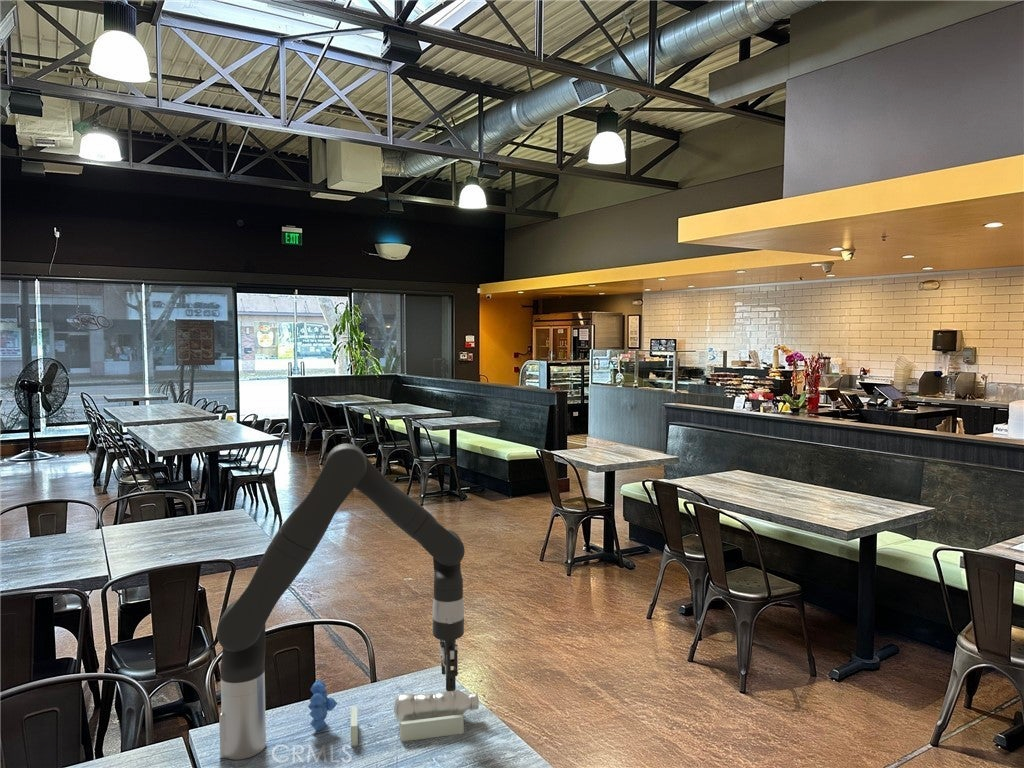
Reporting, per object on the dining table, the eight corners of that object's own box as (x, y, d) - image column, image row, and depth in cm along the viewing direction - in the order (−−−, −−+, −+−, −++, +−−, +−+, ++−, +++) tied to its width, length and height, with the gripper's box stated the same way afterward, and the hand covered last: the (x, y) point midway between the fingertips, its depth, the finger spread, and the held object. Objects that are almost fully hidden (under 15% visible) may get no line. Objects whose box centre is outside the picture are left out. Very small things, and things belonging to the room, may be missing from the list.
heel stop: (350, 745, 155) (350, 726, 155) (351, 724, 163) (350, 706, 163) (357, 744, 155) (357, 725, 155) (357, 724, 164) (357, 705, 164)
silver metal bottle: (394, 689, 162) (477, 681, 166) (393, 703, 166) (474, 695, 170) (394, 716, 157) (480, 707, 161) (394, 729, 162) (477, 721, 165)
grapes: (336, 741, 156) (335, 690, 156) (305, 744, 155) (304, 693, 155) (339, 715, 168) (338, 667, 167) (310, 718, 167) (309, 670, 166)
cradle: (401, 741, 156) (400, 724, 156) (398, 717, 167) (398, 701, 167) (463, 733, 159) (463, 716, 159) (457, 710, 170) (456, 694, 170)
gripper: (429, 606, 169) (429, 670, 170) (436, 628, 155) (436, 698, 156) (459, 603, 171) (459, 667, 172) (468, 625, 157) (468, 694, 158)
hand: (448, 681), depth 164 cm, fingers open, 8 cm apart
